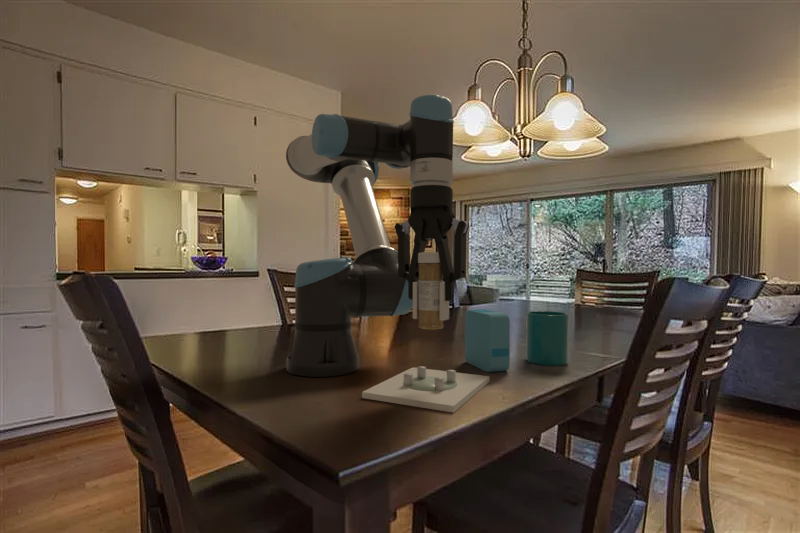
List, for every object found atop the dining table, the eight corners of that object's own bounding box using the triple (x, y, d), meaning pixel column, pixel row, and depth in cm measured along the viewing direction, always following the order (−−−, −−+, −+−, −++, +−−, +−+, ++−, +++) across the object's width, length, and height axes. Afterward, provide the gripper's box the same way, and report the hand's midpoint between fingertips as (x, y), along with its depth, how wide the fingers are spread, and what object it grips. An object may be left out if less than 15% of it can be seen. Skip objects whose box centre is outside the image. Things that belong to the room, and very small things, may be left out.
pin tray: (362, 397, 75) (362, 379, 75) (412, 372, 92) (412, 357, 92) (453, 412, 67) (454, 392, 67) (489, 381, 85) (489, 365, 85)
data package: (509, 372, 93) (510, 314, 93) (490, 374, 92) (490, 315, 91) (482, 360, 104) (482, 308, 104) (464, 361, 103) (464, 309, 103)
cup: (542, 354, 111) (542, 309, 111) (576, 365, 100) (577, 314, 100) (511, 357, 108) (511, 310, 108) (542, 368, 97) (543, 315, 97)
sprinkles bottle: (437, 326, 83) (437, 252, 83) (448, 329, 78) (448, 252, 78) (413, 327, 81) (414, 252, 81) (423, 330, 77) (424, 251, 77)
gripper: (377, 187, 80) (377, 318, 80) (472, 179, 72) (472, 324, 73) (396, 193, 87) (396, 314, 87) (485, 186, 79) (484, 319, 79)
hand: (430, 318), depth 80 cm, fingers closed on sprinkles bottle, 4 cm apart
